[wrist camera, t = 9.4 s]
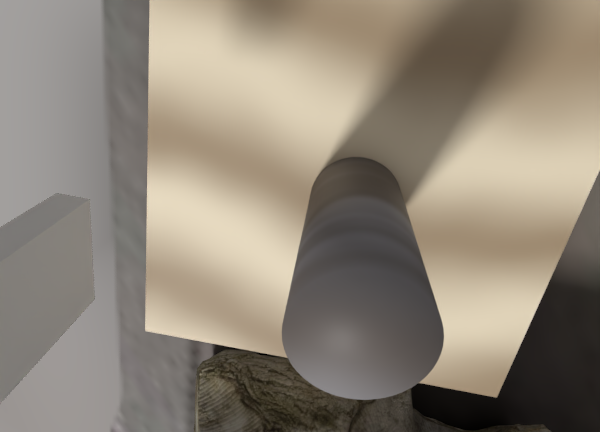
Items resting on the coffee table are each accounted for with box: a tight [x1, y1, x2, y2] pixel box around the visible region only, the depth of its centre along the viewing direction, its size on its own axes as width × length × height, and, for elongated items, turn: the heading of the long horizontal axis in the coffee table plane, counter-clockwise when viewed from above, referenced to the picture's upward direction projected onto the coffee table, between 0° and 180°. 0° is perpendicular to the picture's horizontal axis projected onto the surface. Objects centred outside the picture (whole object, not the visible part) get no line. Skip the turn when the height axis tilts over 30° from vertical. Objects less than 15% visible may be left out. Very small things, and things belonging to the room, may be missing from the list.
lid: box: [145, 0, 600, 400], centre depth 15 cm, size 16×16×11 cm
